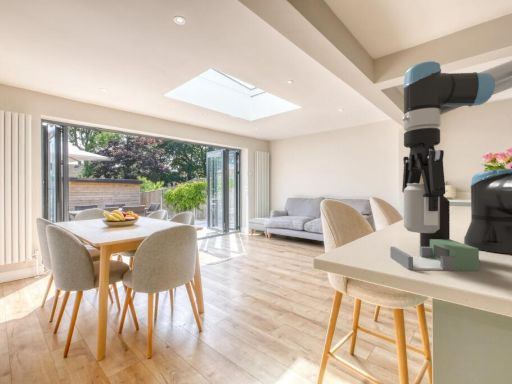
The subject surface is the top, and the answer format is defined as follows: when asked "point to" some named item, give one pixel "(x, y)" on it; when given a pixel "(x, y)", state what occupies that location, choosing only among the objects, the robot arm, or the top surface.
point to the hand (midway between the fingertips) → (421, 222)
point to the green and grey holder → (440, 256)
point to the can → (417, 210)
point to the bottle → (444, 224)
